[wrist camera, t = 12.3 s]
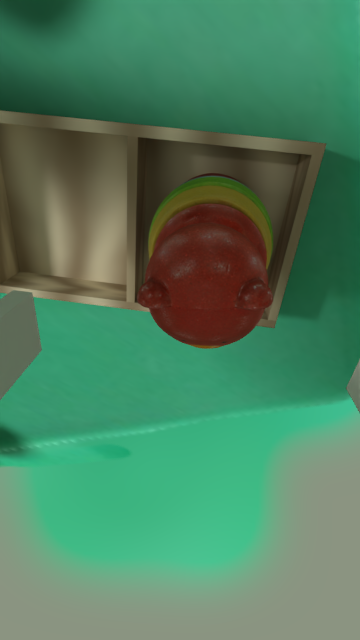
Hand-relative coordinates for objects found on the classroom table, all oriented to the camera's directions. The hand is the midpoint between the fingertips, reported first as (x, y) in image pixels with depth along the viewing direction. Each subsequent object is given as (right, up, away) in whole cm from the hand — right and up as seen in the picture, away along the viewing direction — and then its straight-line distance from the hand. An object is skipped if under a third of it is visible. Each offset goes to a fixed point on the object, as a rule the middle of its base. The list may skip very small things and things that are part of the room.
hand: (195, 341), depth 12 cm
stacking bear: (+2, +10, +18) cm, 20 cm away
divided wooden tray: (-4, +11, +18) cm, 22 cm away
